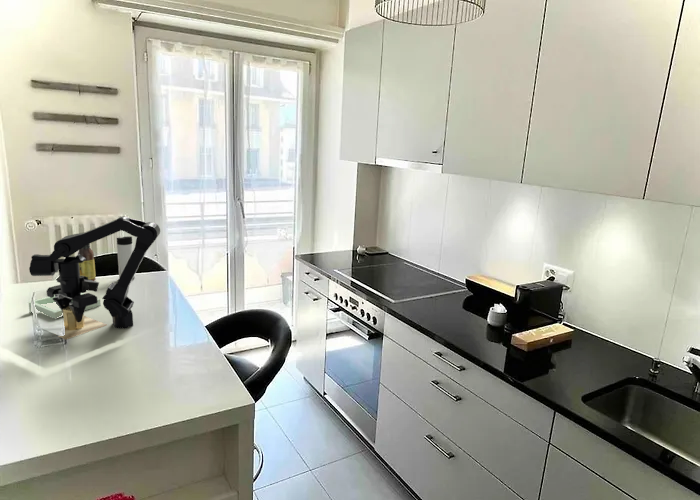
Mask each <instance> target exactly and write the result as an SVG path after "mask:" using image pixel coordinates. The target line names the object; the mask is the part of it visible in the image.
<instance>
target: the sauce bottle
mask: <svg viewBox="0 0 700 500" xmlns="http://www.w3.org/2000/svg"><path fill="white" fill-rule="evenodd" d="M77 252H78V253H77V255H78V254H80V255H81V256H83V257H84V258H86V260H85V261H84V262H83V263H79V270H80V276H86V277H88V280H92V281H96V277H97V276H96V264H95V254H94V251H93V249H92V248H91V243H90V244H88V245H86V246H84V247H83V248H81V249H80V250H78V251H77Z"/></svg>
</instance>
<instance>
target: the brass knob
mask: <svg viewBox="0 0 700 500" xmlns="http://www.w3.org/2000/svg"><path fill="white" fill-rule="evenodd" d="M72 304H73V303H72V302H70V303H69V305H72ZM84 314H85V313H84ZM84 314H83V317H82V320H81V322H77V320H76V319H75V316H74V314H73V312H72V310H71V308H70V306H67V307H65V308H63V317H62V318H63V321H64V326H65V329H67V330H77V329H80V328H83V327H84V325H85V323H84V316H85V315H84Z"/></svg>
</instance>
